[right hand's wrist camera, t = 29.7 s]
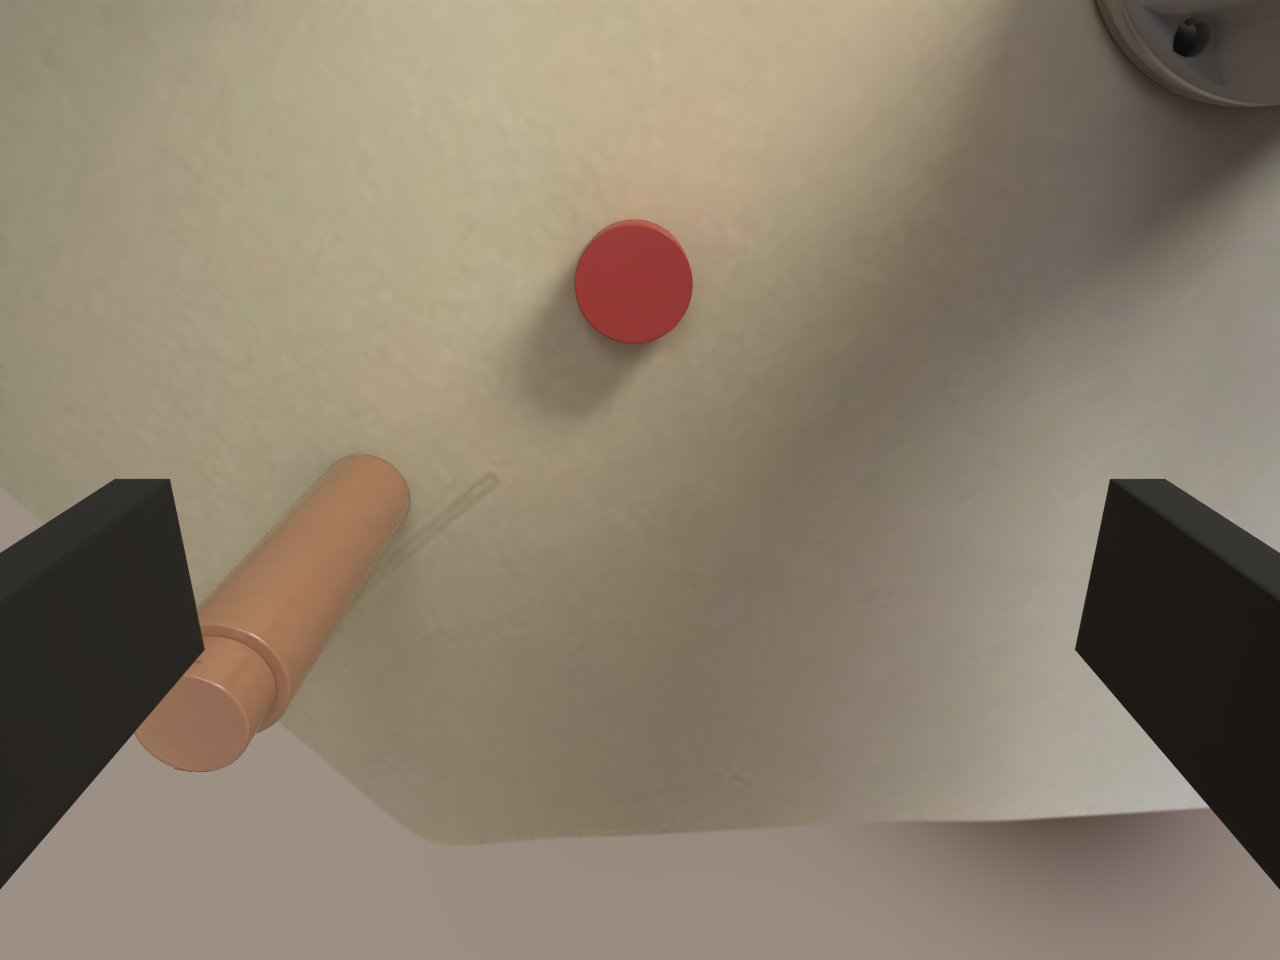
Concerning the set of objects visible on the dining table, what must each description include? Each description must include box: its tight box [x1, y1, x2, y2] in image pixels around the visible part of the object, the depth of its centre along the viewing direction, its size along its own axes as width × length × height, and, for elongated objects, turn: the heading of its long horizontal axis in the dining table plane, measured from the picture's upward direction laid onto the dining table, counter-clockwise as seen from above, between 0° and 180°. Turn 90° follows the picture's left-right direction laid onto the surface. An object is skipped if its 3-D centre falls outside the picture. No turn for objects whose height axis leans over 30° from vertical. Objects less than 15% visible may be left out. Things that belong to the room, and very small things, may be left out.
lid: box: [575, 220, 692, 343], centre depth 38 cm, size 5×5×2 cm
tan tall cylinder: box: [134, 455, 410, 772], centre depth 34 cm, size 4×4×18 cm
